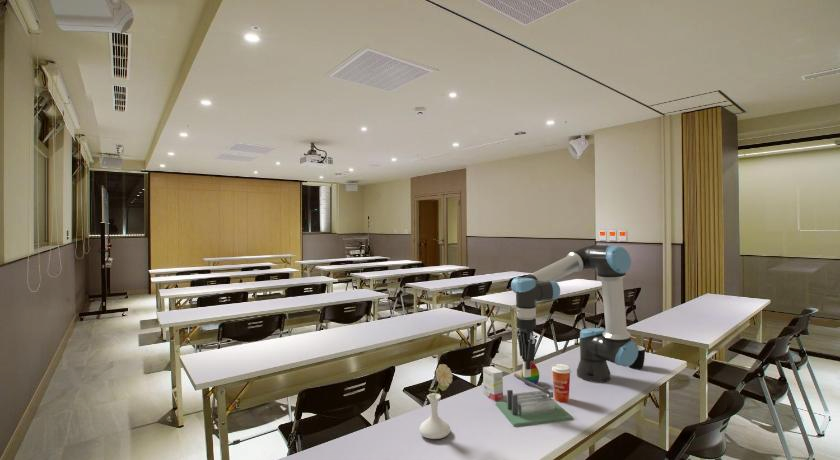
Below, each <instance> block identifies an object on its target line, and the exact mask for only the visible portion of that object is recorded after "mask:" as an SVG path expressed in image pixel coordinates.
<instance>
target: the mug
mask: <svg viewBox="0 0 840 460" xmlns="http://www.w3.org/2000/svg"><path fill="white" fill-rule="evenodd" d="M637 346H638V356H637V358H636V360H635V362H634V363H633V364H632V365H630V366H627V367H628V368H630V369H633V370H642V369H643V367H644V365H645V364H644V363H645V360H646V359H645V357H646V348H645V347H644V346H641V345H638V344H637Z"/></svg>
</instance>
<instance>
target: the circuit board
mask: <svg viewBox="0 0 840 460" xmlns="http://www.w3.org/2000/svg"><path fill="white" fill-rule="evenodd" d="M554 403H555V413H551V414H543V415H535V416H527V417H521V416H520V415H519V414H516V415H513V414H512V409H510V410H508V407H507V400H506V401H505V400H504V401H498V402H497V401H496V402H495V406H496V407H497V409H499V411H500V412H501V413H502V414H503V416H505V418H506V419H507V421H508V422H509V423H510V424H511V425H512V426H513V427H520V426H529V425H535V424H536V425H537V424H544V423H545V424H546V423H551V422H560V421H561V422H562V421H567V420H573V415H572V414H570V413H569V412H568V411H567V410H565V409H564V408H563V407H562V406H561V405H559V404H558V403H557V402H556V400H554Z"/></svg>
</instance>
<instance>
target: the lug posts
mask: <svg viewBox="0 0 840 460" xmlns="http://www.w3.org/2000/svg"><path fill="white" fill-rule="evenodd" d="M513 394H514V392H513V389H507V390H506V395H507V397H506V398H507V400H506V401H507V407H508V410H510V409H512V414H513V415H516V414H518V402H517V394H516V395H513Z"/></svg>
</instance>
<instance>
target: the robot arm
mask: <svg viewBox="0 0 840 460" xmlns="http://www.w3.org/2000/svg"><path fill="white" fill-rule="evenodd" d="M631 265H632V259H631V255H630V252H629V251H628V250H626V249H625V247H622V246H618V245H614V244H613V245H612V244H611V245H609V244H607V245H605V244H590V245H585V246H582V247H580V248H578V249H574V250H573V251H571V252H569V253H568V254H567V255H566V256H565V257H563V258H561V259H560V260H557V261H555V262H553V263H551V264H548V265H547V266H544V267H543V268H541V269H538V270H536V271H534V272H532V273H530V274H528V275H526V276H523V277H522V276H517V277H516V276H515V277H514V278H513V279H512V281H510V282H511V283H510V288H511V291H512V292H513V293H515V297H516V298H515V307H516V310H515V313H516V320H515V321H516V327H517V329H519V330H517V331H516V334H517V341H518V349H519V356H520V357H521V359H522V368H523V376H524V377H531V362H534V361H535V354H536V345H537V341H538V340H537V338H534V331H533V330H535V329H536V328H537V318H536V317H537V306H536V305H537V302H543V301H552V300H556V299H558V298H559V297H560V295H561V287H560V285H559V283H558V282H557V281H558V280H560V279H562V278H564V277H566V276H569V275H570V274H572V273H575V272H576V273H577V272H581V271H583V270H584V271H586V270H593V271H596V274H597V275H596V276H597V277H598V278H599V279H600V280H601V290H602V300H603V301H602V302H603V313H604V322H605V324H604V325H605V328H601V327H589V328H588V327H587V328H583V329H581V330H580V331H579V355H580V356H579V358H580V359H579V362H578V365H577V368H576V376H577V377H578V378H580V379H581V380H584V381H587V382H594V383H605V382H609V381H610V380H611V378H612V376H611V375H612V374H611V371H610V368H609V366H608V363H607V362H610V363H612V364H615V365H616V366H622V367H625V368H626V367H628V366H630V365H632V364H633V363H634V362H635V360H636V358H637V356H638V346H639V345H638V344H637V343H636V342H635V341H632V334H631V333H630V332H629V331H628V329H627V327H628V326H627V318H626V306H625V305H626V304H625V294H624V293H625V292H624V282H623V281H624V280H623V279H624V278H625V277H626V275H627V274H626V273H628V272H629V271H630V267H631ZM637 345H638V346H637Z"/></svg>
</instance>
